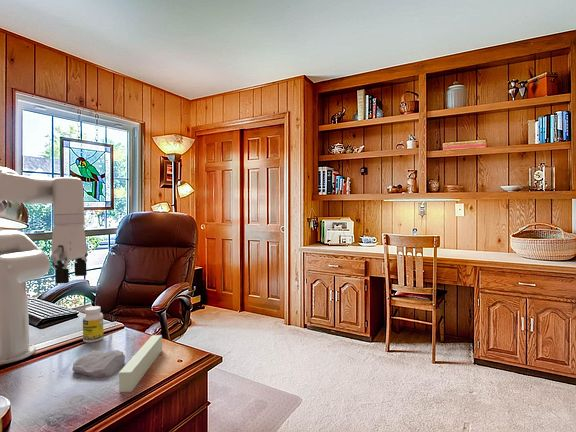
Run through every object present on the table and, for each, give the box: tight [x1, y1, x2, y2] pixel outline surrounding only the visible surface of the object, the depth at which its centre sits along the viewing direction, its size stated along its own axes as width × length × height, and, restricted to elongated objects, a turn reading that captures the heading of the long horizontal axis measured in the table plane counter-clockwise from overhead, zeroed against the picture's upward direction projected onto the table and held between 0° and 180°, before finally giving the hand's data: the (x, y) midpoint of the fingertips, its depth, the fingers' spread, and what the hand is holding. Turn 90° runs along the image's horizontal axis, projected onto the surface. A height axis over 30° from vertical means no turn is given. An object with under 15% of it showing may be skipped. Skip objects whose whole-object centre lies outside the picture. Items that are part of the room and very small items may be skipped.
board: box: [118, 334, 163, 393], centre depth 99 cm, size 3×24×5 cm, turn 2°
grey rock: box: [72, 349, 126, 378], centre depth 99 cm, size 12×5×10 cm
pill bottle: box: [82, 305, 104, 343], centre depth 119 cm, size 6×6×11 cm
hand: (72, 279), depth 100 cm, fingers open, 9 cm apart
